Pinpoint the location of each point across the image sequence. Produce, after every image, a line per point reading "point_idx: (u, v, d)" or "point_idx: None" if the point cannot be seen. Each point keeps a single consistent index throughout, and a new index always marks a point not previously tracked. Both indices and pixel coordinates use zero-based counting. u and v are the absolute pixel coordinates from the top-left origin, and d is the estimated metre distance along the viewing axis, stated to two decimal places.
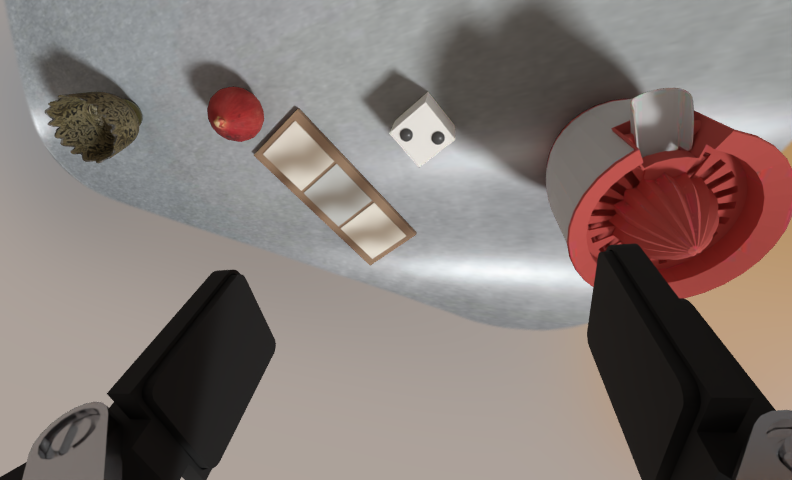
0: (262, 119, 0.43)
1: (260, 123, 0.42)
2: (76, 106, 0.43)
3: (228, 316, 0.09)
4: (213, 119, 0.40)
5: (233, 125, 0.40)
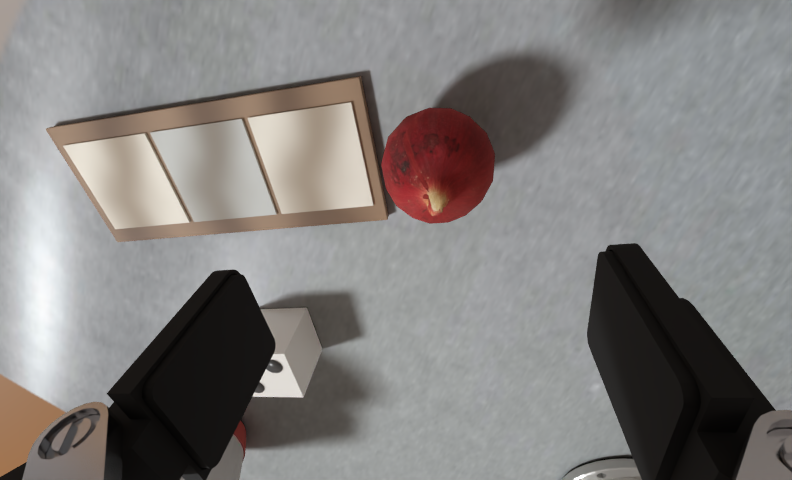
0: None
1: None
2: None
3: (228, 316, 0.09)
4: (452, 179, 0.17)
5: (416, 205, 0.18)
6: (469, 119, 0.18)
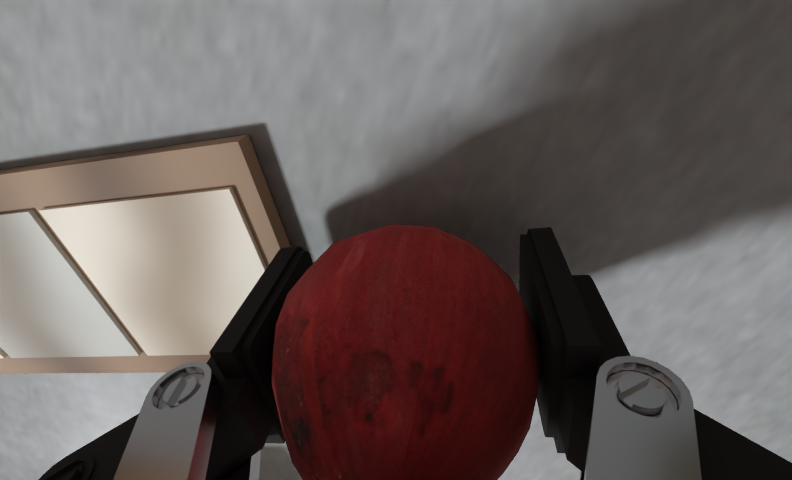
0: None
1: None
2: None
3: None
4: None
5: None
6: (479, 275, 0.07)
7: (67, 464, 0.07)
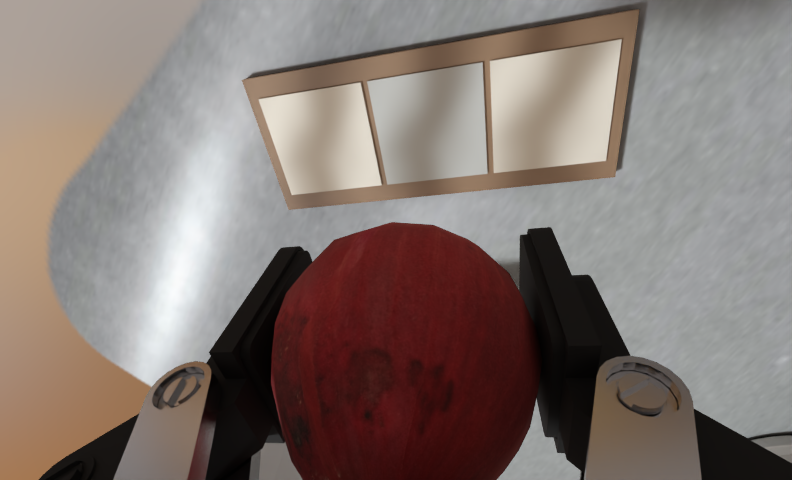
0: None
1: None
2: None
3: None
4: None
5: None
6: (479, 273, 0.07)
7: (67, 464, 0.07)
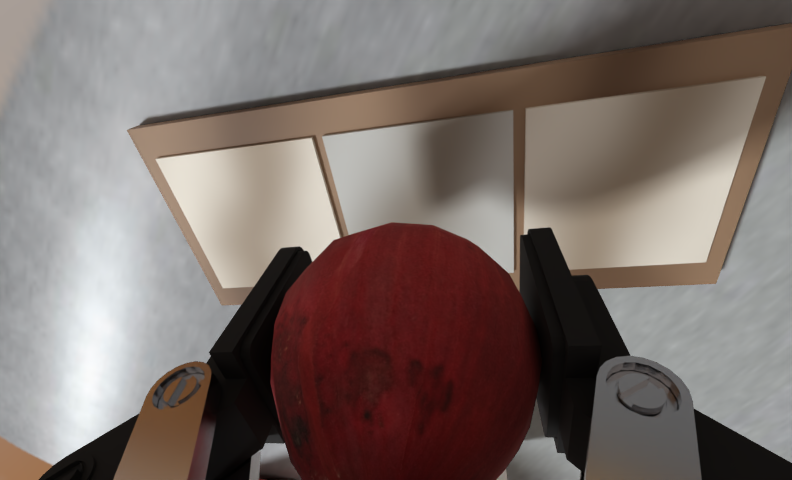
0: None
1: None
2: None
3: None
4: None
5: None
6: (479, 273, 0.07)
7: (67, 464, 0.07)
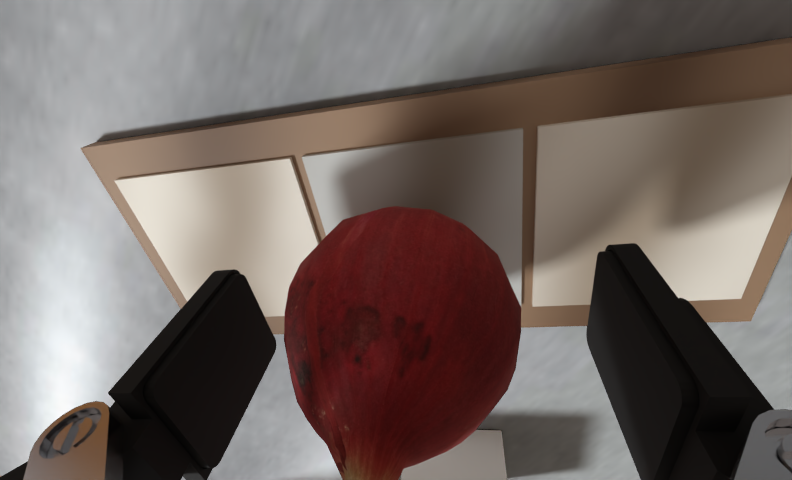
0: None
1: None
2: None
3: (229, 316, 0.09)
4: (408, 431, 0.07)
5: None
6: (465, 250, 0.08)
7: None
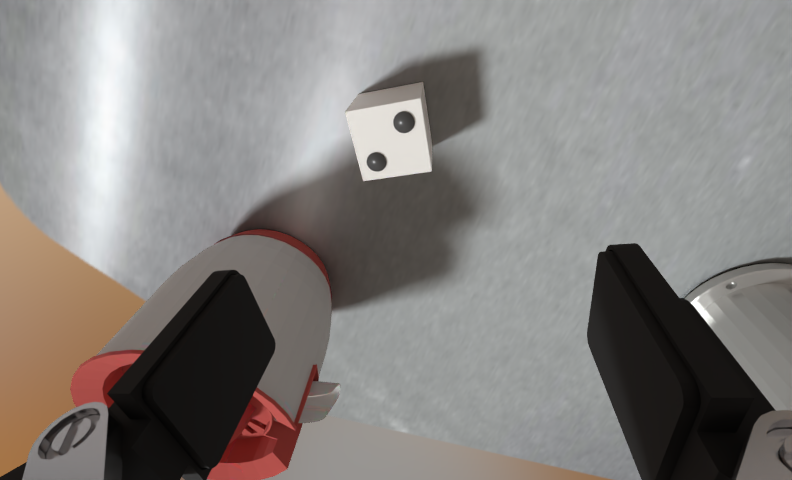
0: None
1: None
2: None
3: (228, 316, 0.09)
4: None
5: None
6: None
7: None
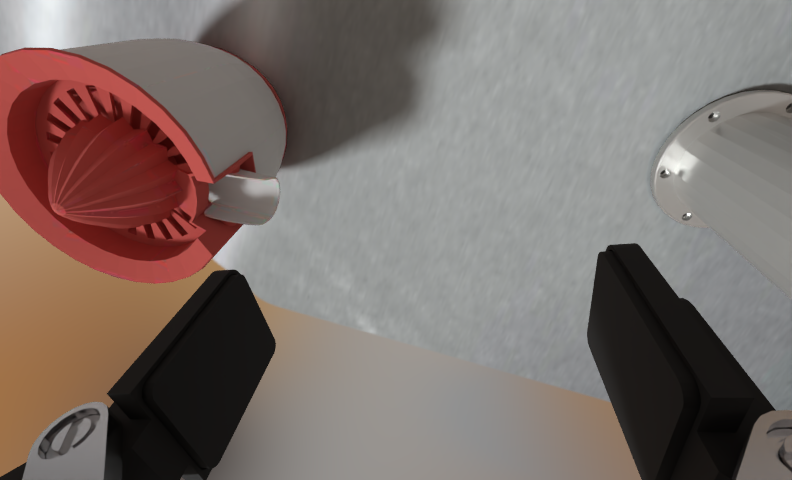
0: None
1: None
2: None
3: (228, 316, 0.09)
4: None
5: None
6: None
7: None
